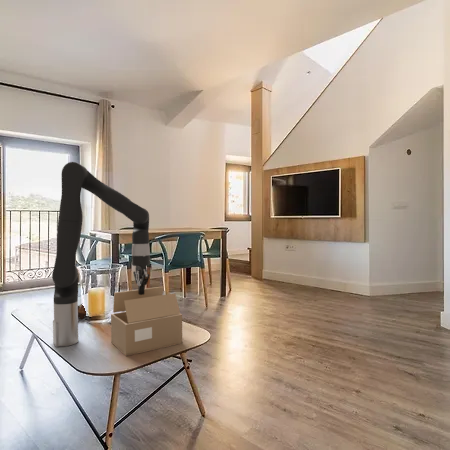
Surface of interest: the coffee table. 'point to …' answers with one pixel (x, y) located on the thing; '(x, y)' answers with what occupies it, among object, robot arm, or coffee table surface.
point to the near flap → (151, 307)
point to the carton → (145, 333)
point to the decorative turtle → (81, 312)
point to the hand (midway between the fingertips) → (141, 294)
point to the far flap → (133, 297)
